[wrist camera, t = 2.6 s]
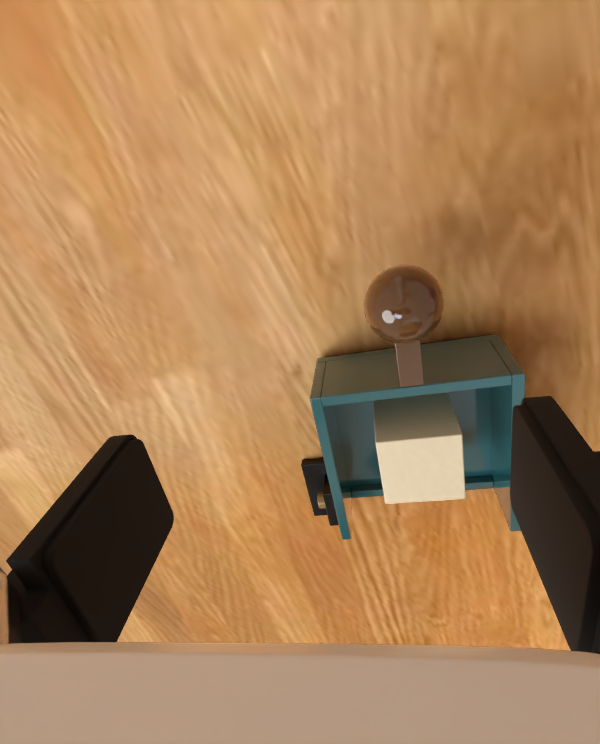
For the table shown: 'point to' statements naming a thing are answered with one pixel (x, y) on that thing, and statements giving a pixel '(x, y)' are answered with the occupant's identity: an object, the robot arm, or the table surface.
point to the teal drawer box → (415, 392)
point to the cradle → (319, 489)
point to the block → (419, 449)
